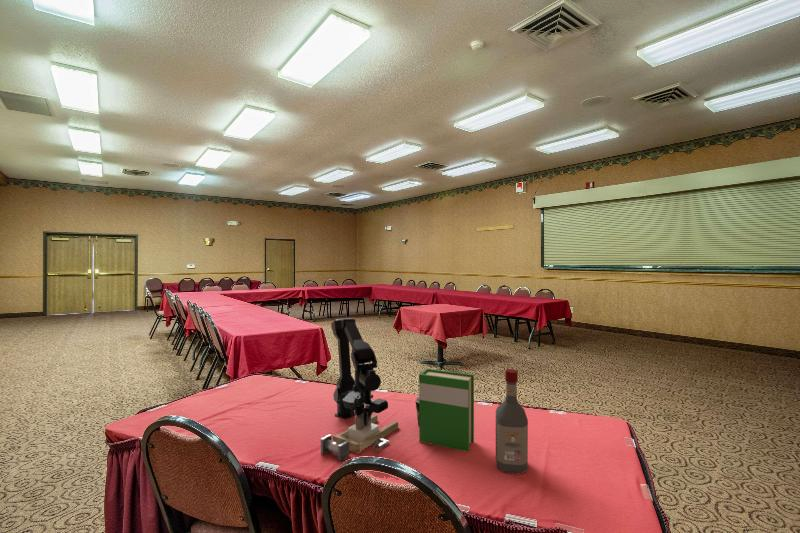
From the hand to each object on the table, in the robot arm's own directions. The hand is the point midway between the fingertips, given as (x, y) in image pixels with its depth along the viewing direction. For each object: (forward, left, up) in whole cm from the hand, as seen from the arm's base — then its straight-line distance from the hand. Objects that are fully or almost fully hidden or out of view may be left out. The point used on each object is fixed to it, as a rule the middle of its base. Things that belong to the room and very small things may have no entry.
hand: (363, 424), depth 141 cm
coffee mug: (+13, +22, -5) cm, 26 cm away
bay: (0, +2, -5) cm, 5 cm away
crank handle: (+8, -1, -5) cm, 10 cm away
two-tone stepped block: (0, 0, -5) cm, 5 cm away
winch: (0, -15, -5) cm, 15 cm away
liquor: (+50, +12, -5) cm, 52 cm away
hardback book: (+26, +14, -5) cm, 30 cm away
